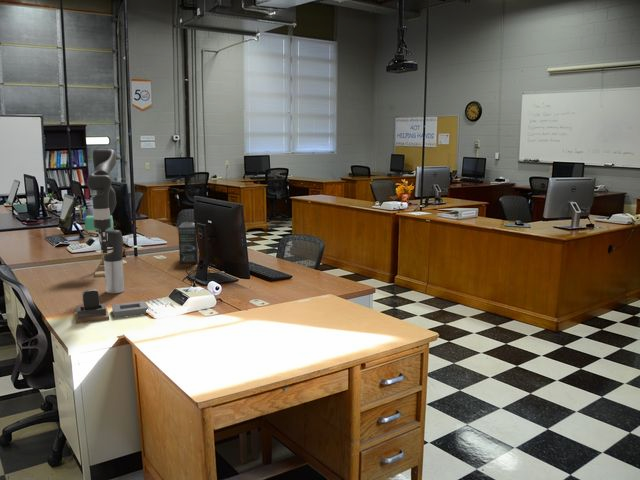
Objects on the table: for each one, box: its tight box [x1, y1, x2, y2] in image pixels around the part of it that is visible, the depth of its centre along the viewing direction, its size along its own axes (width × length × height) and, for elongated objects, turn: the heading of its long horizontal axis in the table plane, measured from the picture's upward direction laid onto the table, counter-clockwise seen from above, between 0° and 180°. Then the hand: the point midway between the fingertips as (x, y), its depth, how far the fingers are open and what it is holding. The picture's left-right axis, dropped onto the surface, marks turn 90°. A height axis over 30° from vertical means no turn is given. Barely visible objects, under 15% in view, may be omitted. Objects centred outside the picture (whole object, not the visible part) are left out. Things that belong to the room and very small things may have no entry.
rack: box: [74, 303, 110, 325], centre depth 260 cm, size 14×14×4 cm
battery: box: [81, 288, 100, 310], centre depth 259 cm, size 7×4×11 cm, turn 122°
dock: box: [111, 300, 149, 319], centre depth 267 cm, size 12×15×3 cm
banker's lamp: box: [84, 214, 115, 278], centre depth 339 cm, size 16×21×35 cm
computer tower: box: [177, 221, 199, 264], centre depth 375 cm, size 22×12×26 cm, turn 6°
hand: (104, 251), depth 268 cm, fingers open, 8 cm apart
